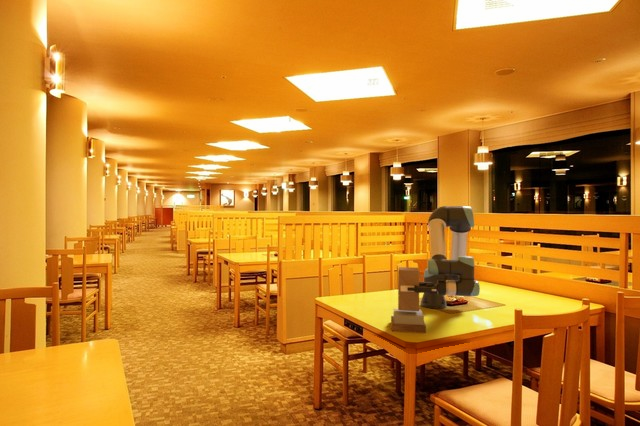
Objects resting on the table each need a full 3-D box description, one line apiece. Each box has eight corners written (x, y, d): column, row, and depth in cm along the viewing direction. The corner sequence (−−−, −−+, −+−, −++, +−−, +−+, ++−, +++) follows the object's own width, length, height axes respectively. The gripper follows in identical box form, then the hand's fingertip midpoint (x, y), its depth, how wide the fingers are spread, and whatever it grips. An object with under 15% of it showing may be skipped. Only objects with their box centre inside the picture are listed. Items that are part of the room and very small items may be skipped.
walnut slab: (391, 323, 212) (391, 316, 212) (422, 324, 209) (422, 317, 209) (391, 332, 196) (391, 324, 196) (425, 334, 193) (425, 325, 193)
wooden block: (419, 311, 196) (419, 270, 196) (398, 310, 198) (398, 269, 198) (418, 306, 206) (418, 267, 206) (398, 305, 208) (398, 267, 208)
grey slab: (393, 316, 211) (393, 308, 211) (421, 317, 208) (421, 309, 208) (394, 323, 197) (394, 315, 197) (423, 324, 195) (423, 316, 195)
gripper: (449, 300, 188) (400, 298, 192) (442, 290, 211) (399, 289, 214) (449, 284, 188) (401, 282, 192) (442, 276, 211) (399, 275, 214)
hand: (399, 286), depth 203 cm, fingers closed on wooden block, 10 cm apart
